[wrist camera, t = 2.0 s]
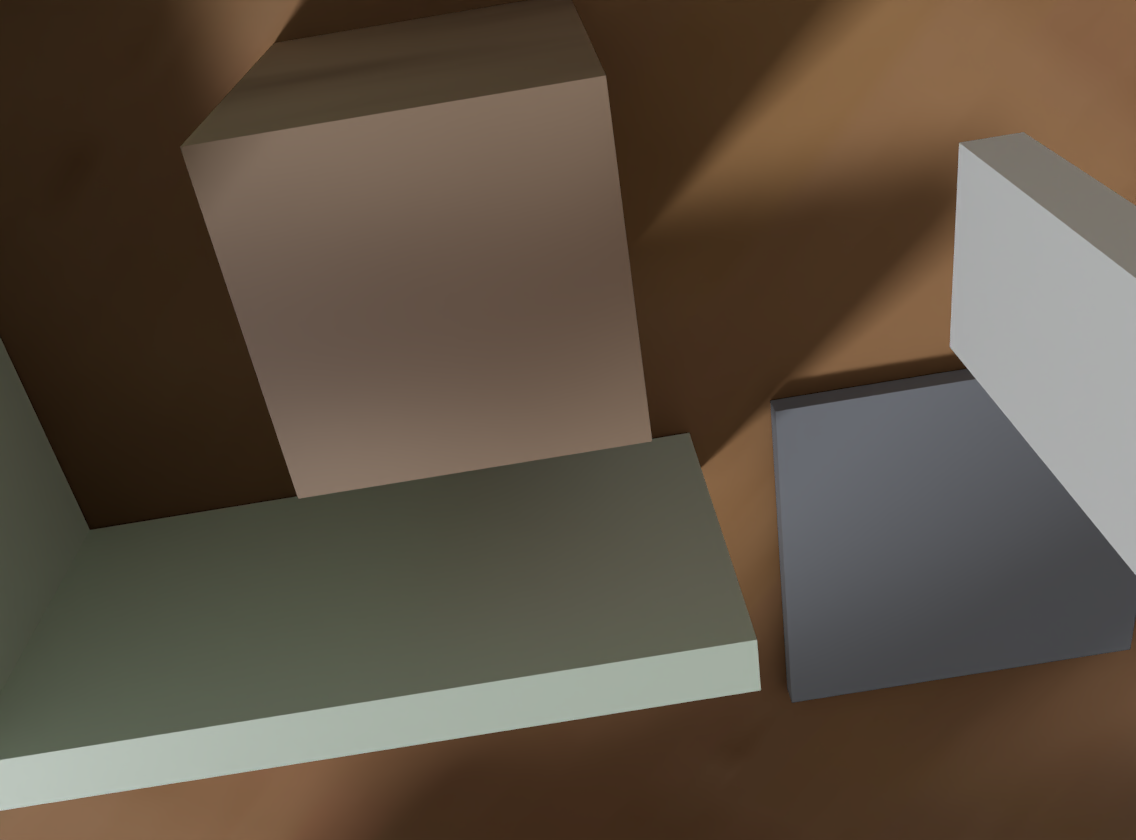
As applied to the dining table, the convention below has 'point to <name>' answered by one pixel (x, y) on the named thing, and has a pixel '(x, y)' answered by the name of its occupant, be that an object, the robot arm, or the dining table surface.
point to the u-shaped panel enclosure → (350, 615)
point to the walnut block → (428, 246)
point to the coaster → (930, 542)
